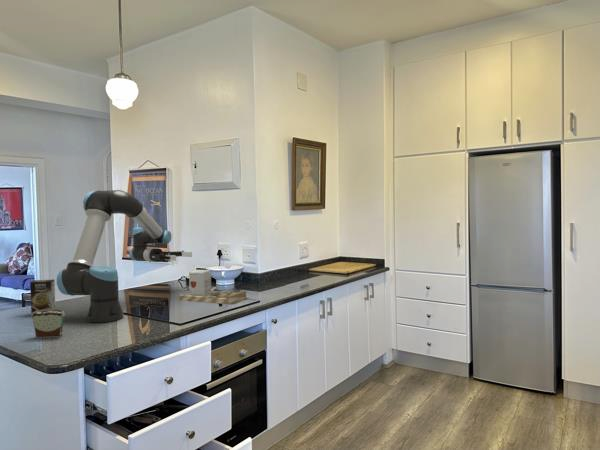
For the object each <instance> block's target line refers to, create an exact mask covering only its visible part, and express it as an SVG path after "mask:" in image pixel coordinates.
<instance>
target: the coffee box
mask: <svg viewBox="0 0 600 450" xmlns="http://www.w3.org/2000/svg"><path fill="white" fill-rule="evenodd" d="M55 285H56V284H55V279H37V280H36V279H35V280H32V281H30V282H29V287H30V313H31V314H32V312H35V311H39V310H44V309H56V287H55ZM31 314H30V315H31Z"/></svg>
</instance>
